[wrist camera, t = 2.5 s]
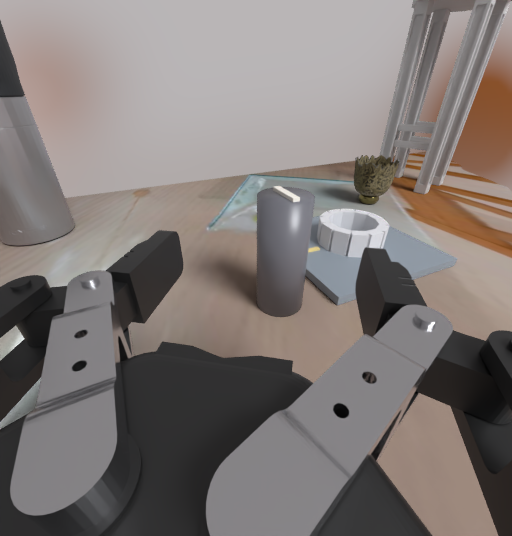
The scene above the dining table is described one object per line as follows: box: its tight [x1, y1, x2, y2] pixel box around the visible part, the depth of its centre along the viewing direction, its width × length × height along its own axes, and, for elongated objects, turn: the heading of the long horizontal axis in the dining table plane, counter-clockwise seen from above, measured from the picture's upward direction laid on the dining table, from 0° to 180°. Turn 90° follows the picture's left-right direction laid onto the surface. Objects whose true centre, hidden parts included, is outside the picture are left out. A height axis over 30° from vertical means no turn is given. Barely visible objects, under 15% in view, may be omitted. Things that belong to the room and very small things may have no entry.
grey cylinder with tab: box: [257, 186, 315, 317], centre depth 25 cm, size 5×5×11 cm
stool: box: [380, 0, 512, 194], centre depth 54 cm, size 16×16×35 cm
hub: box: [305, 209, 457, 305], centre depth 36 cm, size 18×18×4 cm
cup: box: [354, 155, 401, 204], centre depth 51 cm, size 7×7×8 cm
